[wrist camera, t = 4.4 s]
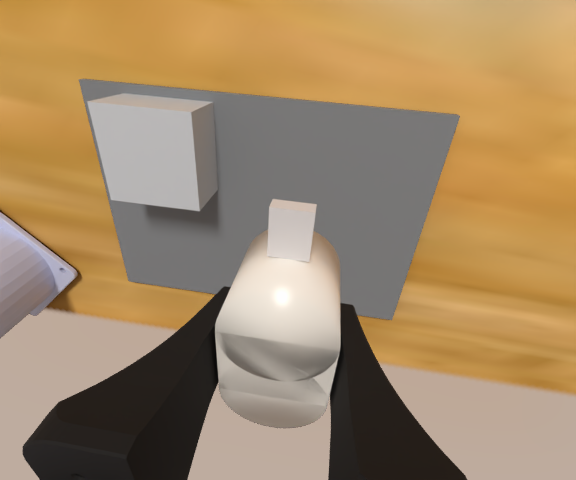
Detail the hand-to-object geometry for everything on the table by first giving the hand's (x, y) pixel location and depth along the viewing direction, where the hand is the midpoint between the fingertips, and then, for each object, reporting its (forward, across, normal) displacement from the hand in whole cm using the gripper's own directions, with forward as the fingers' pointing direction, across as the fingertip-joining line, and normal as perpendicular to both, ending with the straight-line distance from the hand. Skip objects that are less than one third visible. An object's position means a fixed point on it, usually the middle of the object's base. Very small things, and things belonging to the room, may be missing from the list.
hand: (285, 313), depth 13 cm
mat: (+8, +3, 0) cm, 9 cm away
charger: (+8, +8, -4) cm, 12 cm away
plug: (+1, 0, 0) cm, 1 cm away
